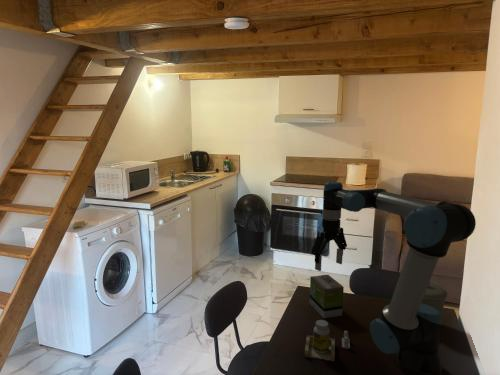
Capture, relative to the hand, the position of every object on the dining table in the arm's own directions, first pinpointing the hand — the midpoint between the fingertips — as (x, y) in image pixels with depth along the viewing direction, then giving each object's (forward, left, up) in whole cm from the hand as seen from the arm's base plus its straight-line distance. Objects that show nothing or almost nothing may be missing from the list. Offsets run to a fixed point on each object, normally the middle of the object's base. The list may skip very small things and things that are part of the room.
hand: (328, 266), depth 161 cm
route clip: (-15, +5, -27) cm, 31 cm away
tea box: (+9, -10, -27) cm, 30 cm away
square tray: (-12, +17, -27) cm, 34 cm away
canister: (-25, -35, -27) cm, 51 cm away
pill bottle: (-12, +17, -26) cm, 33 cm away
